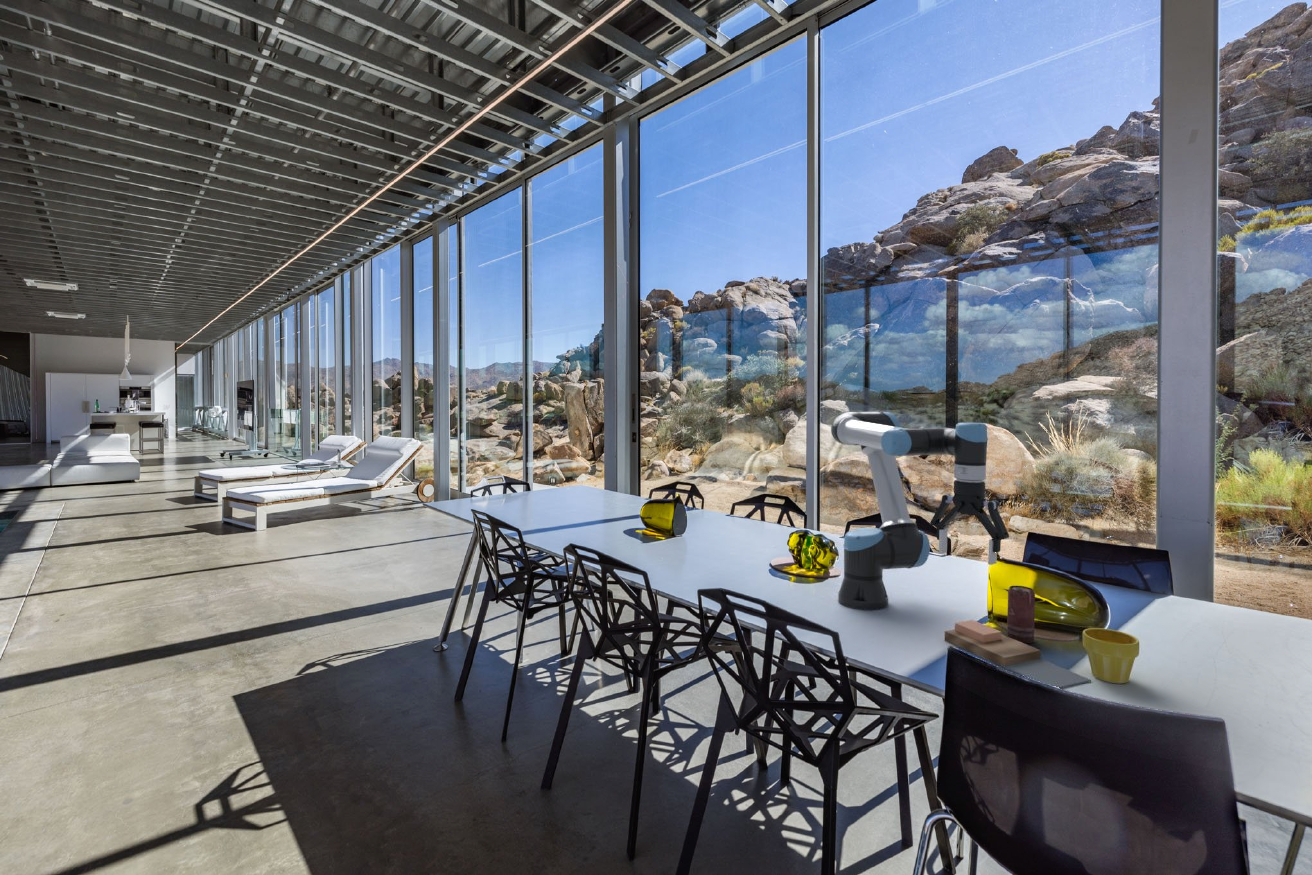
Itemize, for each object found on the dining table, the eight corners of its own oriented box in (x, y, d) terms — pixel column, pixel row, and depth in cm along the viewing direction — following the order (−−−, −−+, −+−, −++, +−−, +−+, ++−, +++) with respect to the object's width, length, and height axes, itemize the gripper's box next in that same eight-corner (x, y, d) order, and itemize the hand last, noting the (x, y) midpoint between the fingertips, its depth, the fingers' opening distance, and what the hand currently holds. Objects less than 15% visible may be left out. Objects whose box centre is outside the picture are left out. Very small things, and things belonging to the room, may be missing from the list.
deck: (944, 640, 158) (944, 630, 157) (978, 634, 162) (978, 625, 161) (1004, 667, 141) (1004, 657, 141) (1040, 660, 145) (1041, 650, 144)
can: (1022, 645, 153) (1023, 592, 153) (1001, 636, 160) (1002, 585, 159) (1040, 643, 155) (1041, 590, 154) (1019, 634, 161) (1020, 583, 160)
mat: (1004, 667, 141) (1004, 666, 141) (1040, 660, 145) (1040, 658, 145) (1052, 690, 129) (1052, 688, 129) (1091, 681, 133) (1091, 679, 133)
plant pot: (1070, 668, 140) (1071, 627, 140) (1111, 666, 141) (1112, 626, 140) (1106, 688, 130) (1107, 645, 129) (1150, 686, 130) (1152, 643, 130)
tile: (954, 630, 158) (954, 622, 158) (972, 627, 160) (972, 619, 160) (983, 642, 150) (983, 634, 149) (1001, 639, 151) (1001, 631, 151)
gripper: (918, 475, 166) (916, 549, 168) (1011, 487, 146) (1007, 571, 147) (933, 473, 171) (931, 545, 172) (1026, 484, 150) (1022, 566, 151)
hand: (966, 557), depth 160 cm, fingers open, 13 cm apart
